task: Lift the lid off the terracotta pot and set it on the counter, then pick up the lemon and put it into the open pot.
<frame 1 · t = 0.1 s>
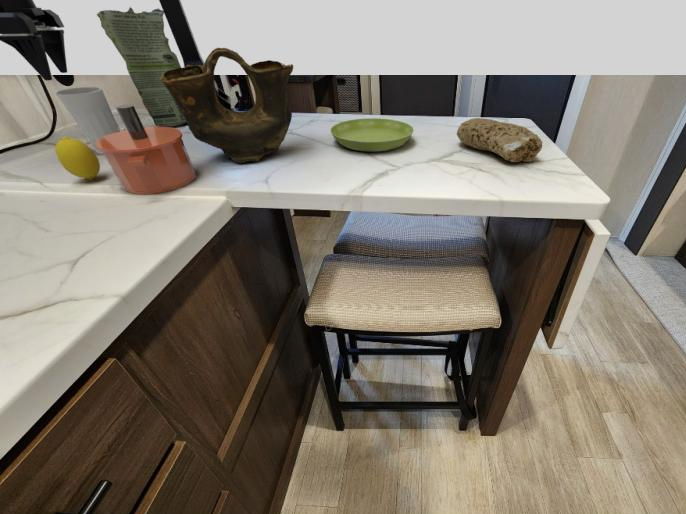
hand: (56, 76, 67), 15 cm above the countertop, tool pointing down, fingers open, 9 cm apart
pot: (161, 180, 65), on the countertop
pouch: (176, 123, 95), on the countertop
saucer: (372, 142, 84), on the countertop
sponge: (493, 152, 79), on the countertop
lemon: (92, 180, 65), on the countertop
pottery vessel: (253, 156, 76), on the countertop
lid: (141, 140, 60), point 7 cm above the countertop, touching pot
cup: (112, 150, 78), on the countertop
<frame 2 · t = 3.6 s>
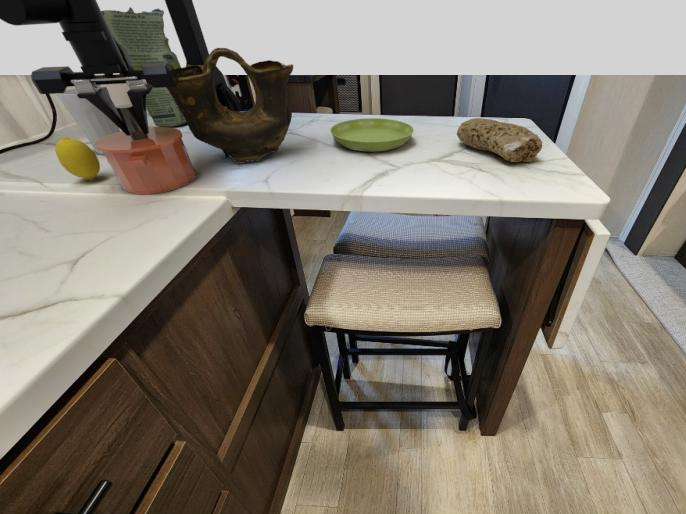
hand: (138, 134, 59), 9 cm above the countertop, tool pointing down, fingers closed on lid, 2 cm apart
lid: (141, 140, 60), point 7 cm above the countertop, touching gripper, pot
everything else where it was.
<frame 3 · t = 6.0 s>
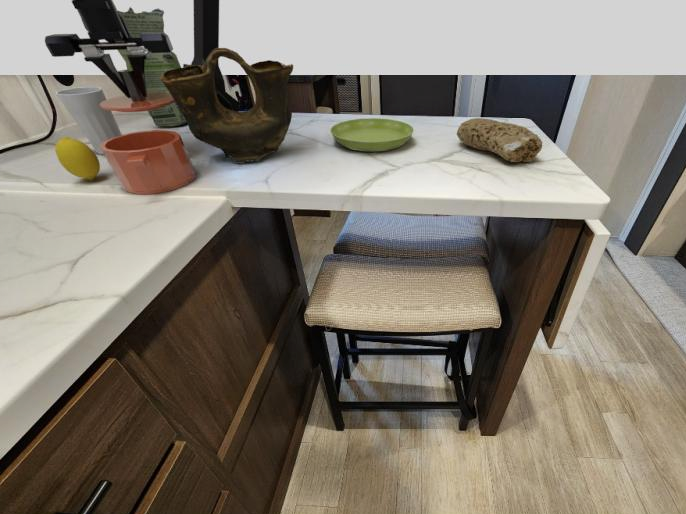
hand: (138, 97, 67), 12 cm above the countertop, tool pointing down, fingers closed on lid, 3 cm apart
lid: (140, 102, 68), point 11 cm above the countertop, touching gripper
everything else where it was.
when the fingers open (2 cm above the countertop, at t = 8.5 s): lid stays where it is, point 1 cm above the countertop.
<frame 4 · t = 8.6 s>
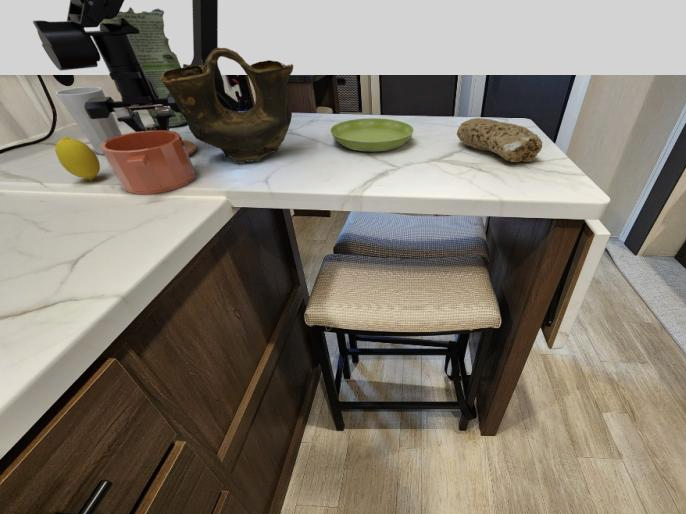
hand: (162, 147, 75), 1 cm above the countertop, tool pointing down, fingers open, 3 cm apart
lid: (164, 151, 75), point 1 cm above the countertop
everything else where it was.
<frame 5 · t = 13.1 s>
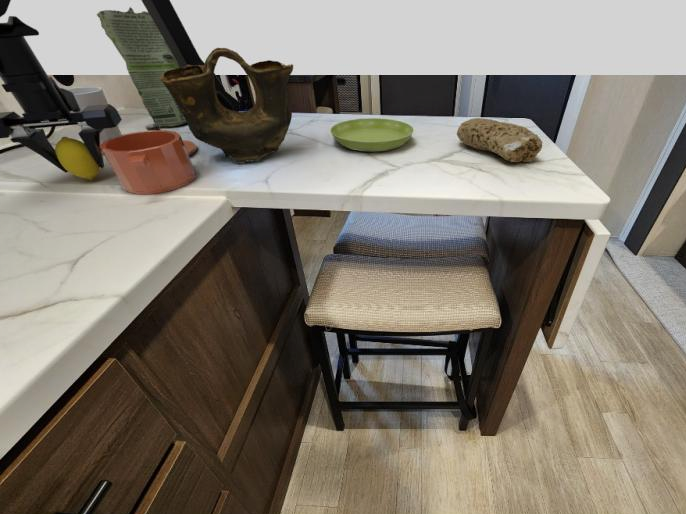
hand: (85, 169, 64), 2 cm above the countertop, tool pointing down, fingers closed on lemon, 5 cm apart
lemon: (92, 180, 65), on the countertop, touching gripper
everything else where it was.
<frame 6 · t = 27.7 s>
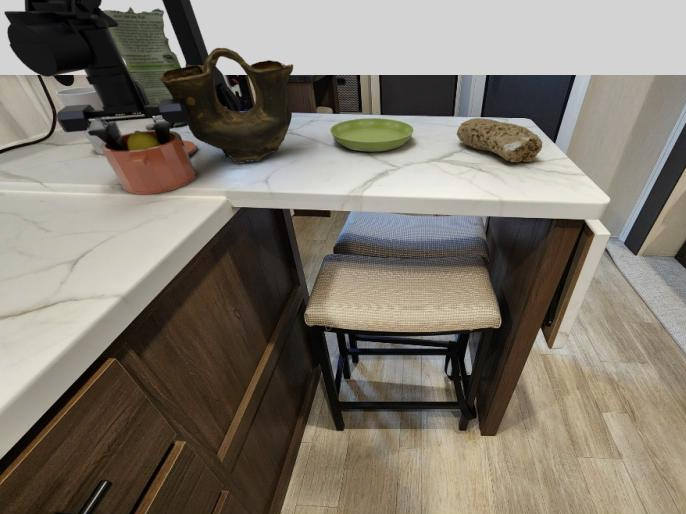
hand: (153, 164, 63), 3 cm above the countertop, tool pointing down, fingers closed on lemon, 5 cm apart
lemon: (158, 175, 65), point 1 cm above the countertop, touching gripper
everything else where it was.
when the fingers open (6 cm above the countertop, at t = 33.5 s): lemon drops 4 cm, resting on pot.
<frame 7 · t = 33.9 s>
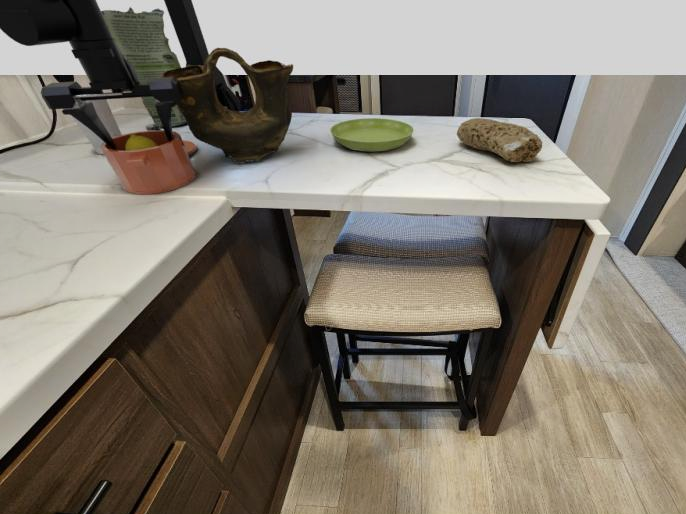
hand: (144, 146, 61), 6 cm above the countertop, tool pointing down, fingers open, 9 cm apart
lemon: (161, 177, 65), point 1 cm above the countertop, touching pot
everything else where it was.
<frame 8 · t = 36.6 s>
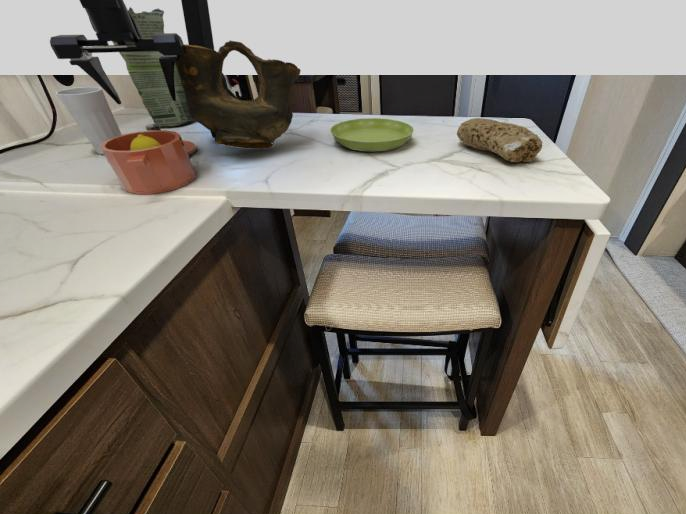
hand: (147, 102, 63), 12 cm above the countertop, tool pointing down, fingers open, 9 cm apart
pottery vessel: (246, 147, 74), point 2 cm above the countertop, touching arm, gripper
everything else where it was.
at the end: lemon inside the target area in the pot (0.2 cm from its centre), point 0.3 cm above the pot's base; lid inside the target area (0.1 cm from its centre), point 0.6 cm above the countertop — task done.
